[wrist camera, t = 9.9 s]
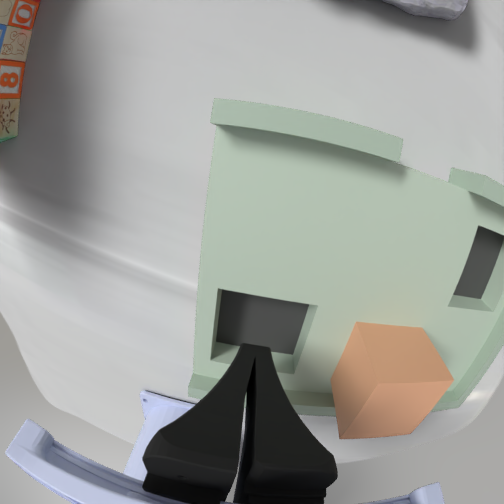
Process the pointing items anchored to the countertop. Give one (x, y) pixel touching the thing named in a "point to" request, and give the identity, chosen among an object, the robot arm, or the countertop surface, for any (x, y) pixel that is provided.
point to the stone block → (431, 7)
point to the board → (340, 252)
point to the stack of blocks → (13, 59)
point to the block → (386, 381)
